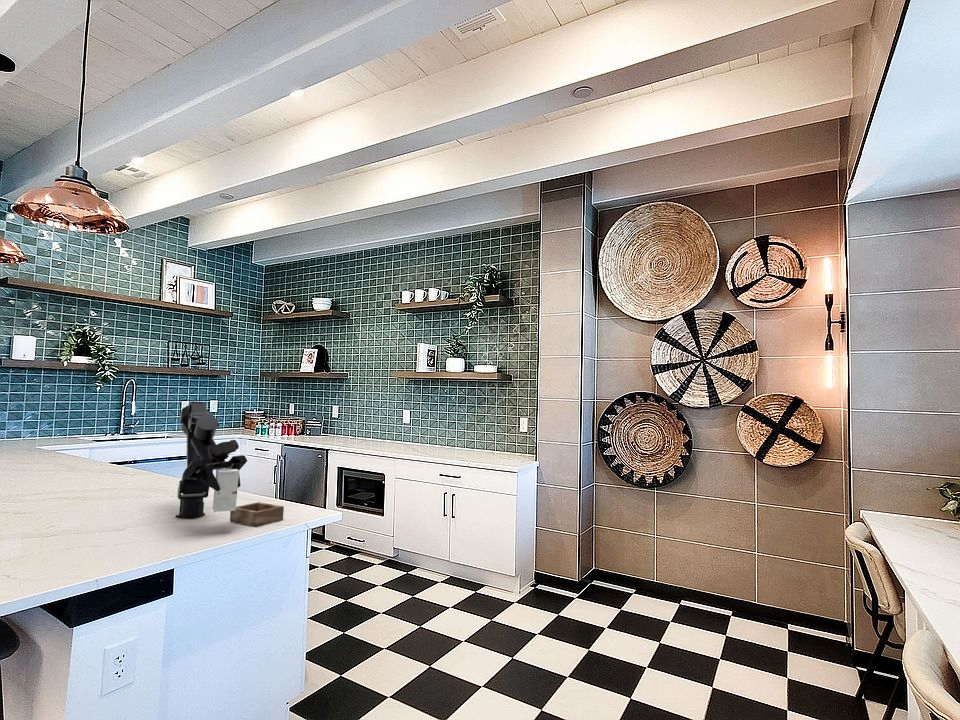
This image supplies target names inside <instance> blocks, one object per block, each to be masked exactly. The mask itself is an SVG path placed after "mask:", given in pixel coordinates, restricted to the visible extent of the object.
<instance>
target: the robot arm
mask: <svg viewBox="0 0 960 720" xmlns="http://www.w3.org/2000/svg"><path fill="white" fill-rule="evenodd" d="M179 415H180V416H179V424H181V430H182V433H184V434H185V435H186V468H185V469H184V471H183V473H182V476H181V480H179V482H178V487H177V495H176V496H177V498H178V500H179V514H177V515H175V518H182V519H196V518H199V517H202V516H205V515H206V513H205V512H204V508H205V501H204V498H205V499H206V498H208V497H209V492H210V488H211V489H213V490H216V491H219V490H220V486H219V484H218V482H217V480H216V475H214V471H216V469H238V470H239V471H240V470H242V468H243V467H244V466H245V465H246V463H247V462H248V459H247V457H246V456H245V455H243V454H239V455H233V456H231V458H230V459H229V457H230V456H229V455H230V454H232V453H235V452H236V451H237V450H238V449H239V448H240V446H239V443H238V441H237V440H236V439H230V440H229V441H222V442H220V443H218V444H216V442H215V440H214V438H215V435H216V431H217V429H218V428H219V427H220V422H219V421H218V419H217V418H216V417H215V415H214V414H213V413H211V412H208V408H207V407H206V402H204V401H189V402H188V405H186V406H184V407H183V408H182V409H181V411H180V413H179ZM227 459H229V460H228V461H227ZM240 487H241V478H240V475H239V479H238V488H240Z"/></svg>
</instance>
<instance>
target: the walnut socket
mask: <svg viewBox="0 0 960 720" xmlns="http://www.w3.org/2000/svg"><path fill="white" fill-rule="evenodd" d="M284 509H285V508H284V505H283V506H282V505H278V504H272V503H266V502H259V501H256V502H254V503H249V504H244V505H243V504H242V505H239V506H236V510H235V511H229V512H230V514H229V522H230V521H231V522H230V523H232V522H236V523H235V524H237V523H241V524H240V525H242V524H245V525H244V526H247V525H250V526H249V527H252V526H254V527H253V528H258V527H257V526H259V527H262V526H265V524H266V525H270V524H273V522H274V523H277V521H278V522H280V520H281V521H283V520H284V512H285V510H284ZM269 523H270V524H269Z"/></svg>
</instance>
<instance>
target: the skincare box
mask: <svg viewBox="0 0 960 720" xmlns="http://www.w3.org/2000/svg"><path fill="white" fill-rule="evenodd" d="M239 476H240V470H238V469H225V468H224V469H216V470H215V478H216V480H217V482H218V484H219V486H220V490H219V491H216V490H214V489H213V490H214V491H213V499H212V500H213V501H212V502H213V503H212V510H213V511H212V512H214V513H218V512H221V513H222V512H230V511H235V510H236V507H237V499H238V479H239Z"/></svg>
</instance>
